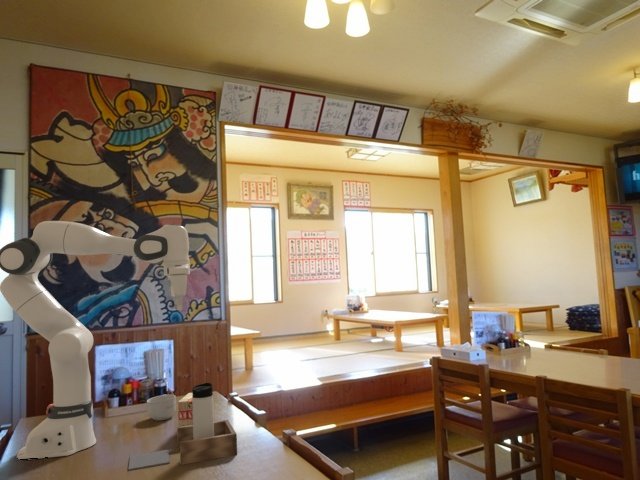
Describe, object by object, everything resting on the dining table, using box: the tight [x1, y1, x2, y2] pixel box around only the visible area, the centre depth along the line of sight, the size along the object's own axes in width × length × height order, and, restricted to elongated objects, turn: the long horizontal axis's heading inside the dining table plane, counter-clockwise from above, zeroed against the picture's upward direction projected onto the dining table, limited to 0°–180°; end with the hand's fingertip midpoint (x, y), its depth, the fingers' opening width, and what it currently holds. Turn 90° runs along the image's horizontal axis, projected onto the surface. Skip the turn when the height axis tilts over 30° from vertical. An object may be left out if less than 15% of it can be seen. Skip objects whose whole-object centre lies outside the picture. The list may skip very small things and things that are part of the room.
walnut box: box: [176, 419, 238, 466], centre depth 142 cm, size 16×16×6 cm
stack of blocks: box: [177, 392, 193, 427], centre depth 166 cm, size 21×6×12 cm, turn 179°
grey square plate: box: [128, 449, 170, 471], centre depth 136 cm, size 11×11×1 cm
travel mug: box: [191, 382, 215, 440], centre depth 142 cm, size 6×7×20 cm
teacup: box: [146, 394, 177, 422], centre depth 182 cm, size 14×11×8 cm
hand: (178, 309), depth 159 cm, fingers open, 8 cm apart
